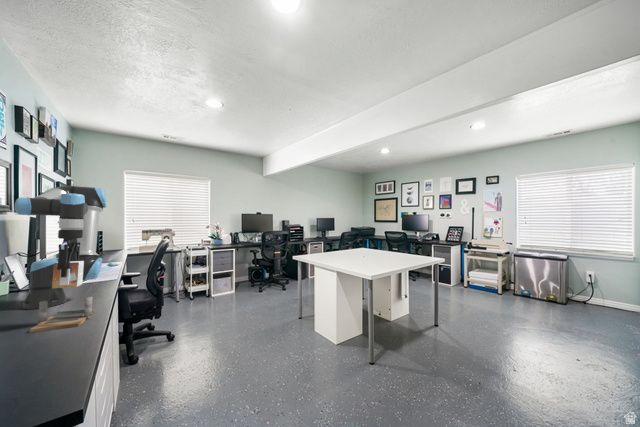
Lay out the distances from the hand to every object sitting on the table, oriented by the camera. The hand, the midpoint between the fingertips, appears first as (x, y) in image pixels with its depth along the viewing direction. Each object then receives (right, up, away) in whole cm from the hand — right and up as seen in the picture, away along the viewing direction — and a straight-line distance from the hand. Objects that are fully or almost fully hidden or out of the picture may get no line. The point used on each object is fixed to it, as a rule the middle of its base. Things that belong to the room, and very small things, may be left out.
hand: (67, 283), depth 107 cm
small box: (0, -2, 0) cm, 2 cm away
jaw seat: (0, -16, -1) cm, 16 cm away
